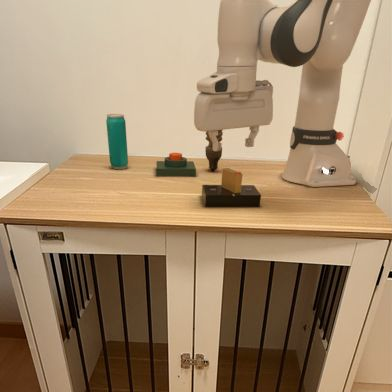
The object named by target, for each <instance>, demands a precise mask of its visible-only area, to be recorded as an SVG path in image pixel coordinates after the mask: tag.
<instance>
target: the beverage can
mask: <svg viewBox="0 0 392 392" xmlns="http://www.w3.org/2000/svg"><path fill="white" fill-rule="evenodd" d="M105 123H106V132H107V133H106V134H107V135H106V136H107V144H108V154H109V155H108V156H109V164H110V166H111V168H112V169H113V170H118V171H119V170H120V171H121V170H126V169H127V168H128V164H129V153H128V140H127V139H128V138H127V126H126V118H125V115H124V114H122V113H109V114H106V120H105Z"/></svg>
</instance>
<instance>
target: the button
mask: <svg viewBox="0 0 392 392" xmlns="http://www.w3.org/2000/svg"><path fill="white" fill-rule="evenodd" d="M168 157H169V160H182V157H183V153H181V152H170V153H168Z"/></svg>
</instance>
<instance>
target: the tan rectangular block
mask: <svg viewBox="0 0 392 392" xmlns="http://www.w3.org/2000/svg"><path fill="white" fill-rule="evenodd" d="M242 183H243V173H242V171H241V172H240V171H236V170H235V169H232V168H229V167H224V168H222V170H221V183H220V185H221V187H223V188H225V189H227V190H229V191H231V192H233V193H241V185H243V184H242Z"/></svg>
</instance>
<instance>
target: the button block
mask: <svg viewBox="0 0 392 392" xmlns="http://www.w3.org/2000/svg"><path fill="white" fill-rule="evenodd" d="M155 162H156V176H157V177H197V168H196V165H195V162H194V161H192V160H191V161H188V159H187V157H184V156H182V160H169V156H166V157H164V160H156V161H155Z"/></svg>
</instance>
